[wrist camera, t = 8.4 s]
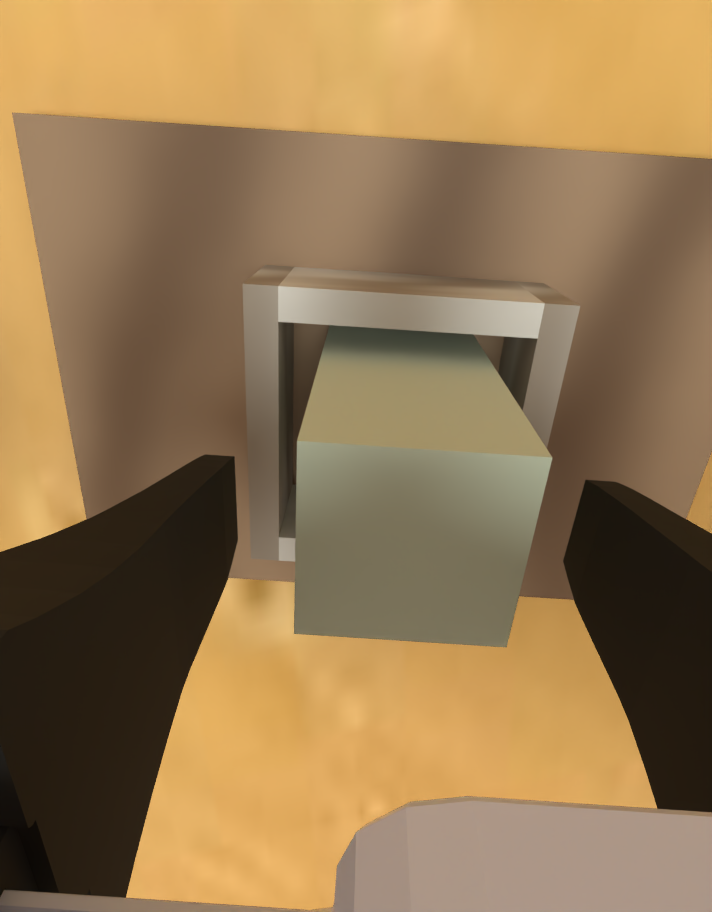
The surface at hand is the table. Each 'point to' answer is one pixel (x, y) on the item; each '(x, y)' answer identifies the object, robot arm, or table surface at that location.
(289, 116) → the table surface
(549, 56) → the table surface
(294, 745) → the table surface
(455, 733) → the table surface
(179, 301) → the brown socket board
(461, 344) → the rectangular block
